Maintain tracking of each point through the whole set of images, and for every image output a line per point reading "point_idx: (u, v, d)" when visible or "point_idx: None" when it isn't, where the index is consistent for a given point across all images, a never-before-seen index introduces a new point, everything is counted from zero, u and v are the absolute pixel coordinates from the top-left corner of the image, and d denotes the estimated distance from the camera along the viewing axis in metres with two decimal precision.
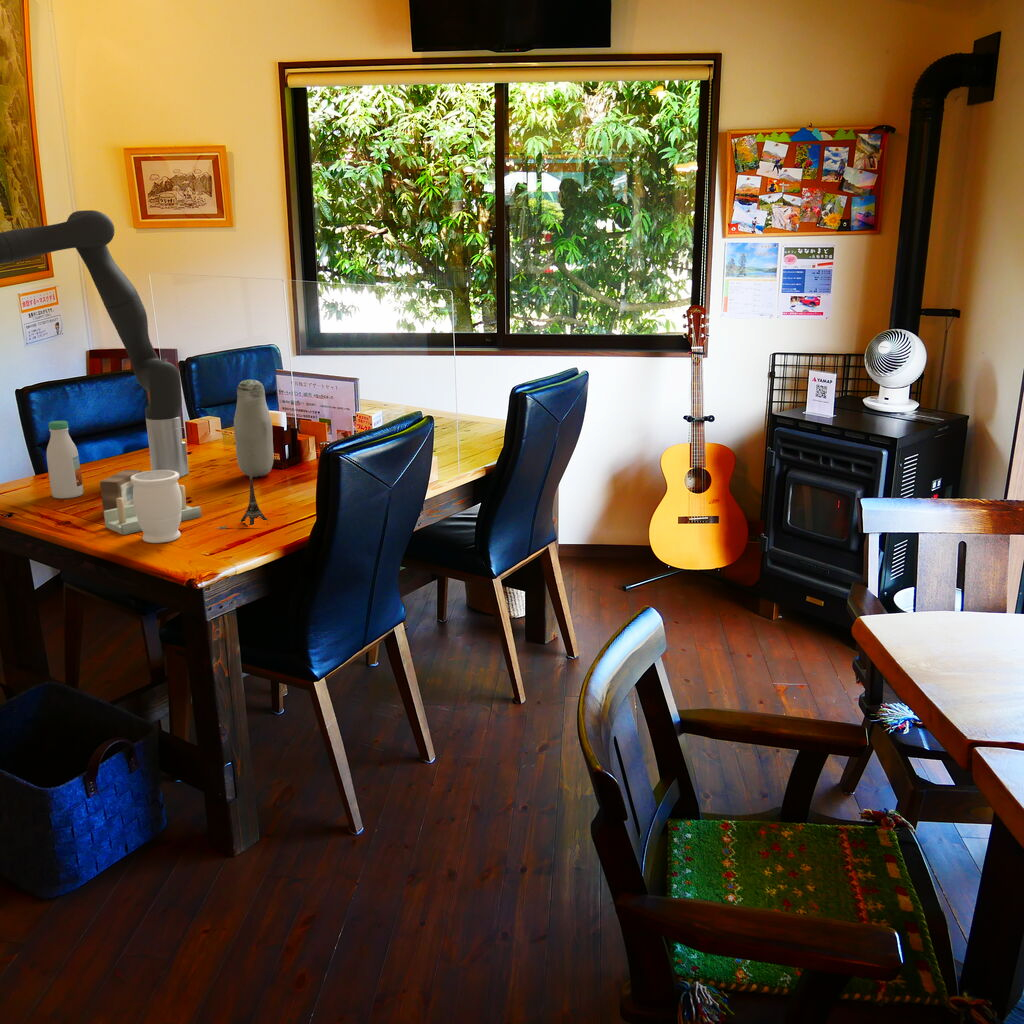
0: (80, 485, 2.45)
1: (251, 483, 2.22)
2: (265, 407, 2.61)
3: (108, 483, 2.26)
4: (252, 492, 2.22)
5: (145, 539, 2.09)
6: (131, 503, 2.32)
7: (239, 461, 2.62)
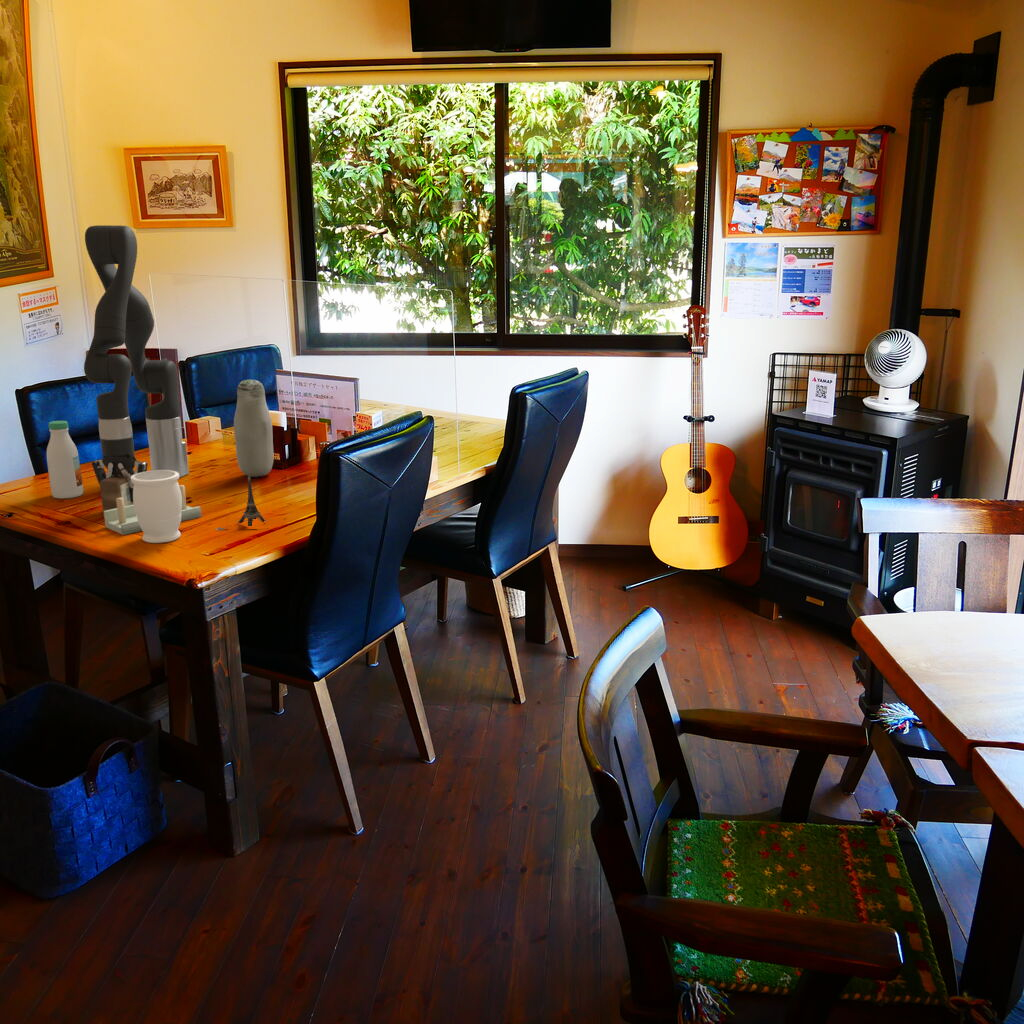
0: (80, 485, 2.45)
1: (249, 484, 2.21)
2: (265, 407, 2.61)
3: (108, 483, 2.26)
4: (250, 493, 2.21)
5: (145, 539, 2.09)
6: (131, 503, 2.32)
7: (239, 461, 2.62)
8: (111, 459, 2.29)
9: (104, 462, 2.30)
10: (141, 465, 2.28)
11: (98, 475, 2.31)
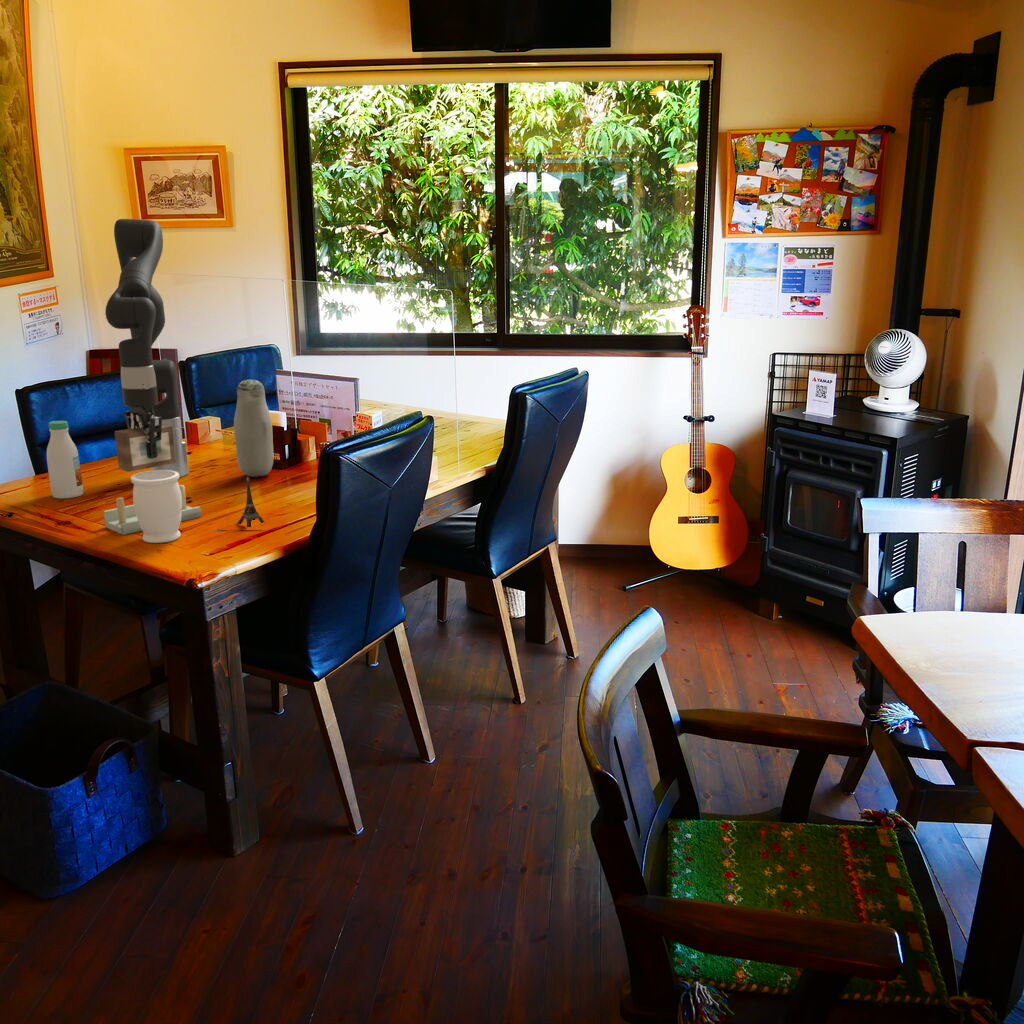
0: (80, 485, 2.45)
1: (248, 485, 2.20)
2: (265, 407, 2.61)
3: (119, 434, 2.14)
4: (249, 494, 2.20)
5: (145, 539, 2.09)
6: (148, 459, 2.18)
7: (239, 461, 2.62)
8: (134, 410, 2.16)
9: (131, 412, 2.18)
10: (151, 420, 2.12)
11: (128, 425, 2.20)
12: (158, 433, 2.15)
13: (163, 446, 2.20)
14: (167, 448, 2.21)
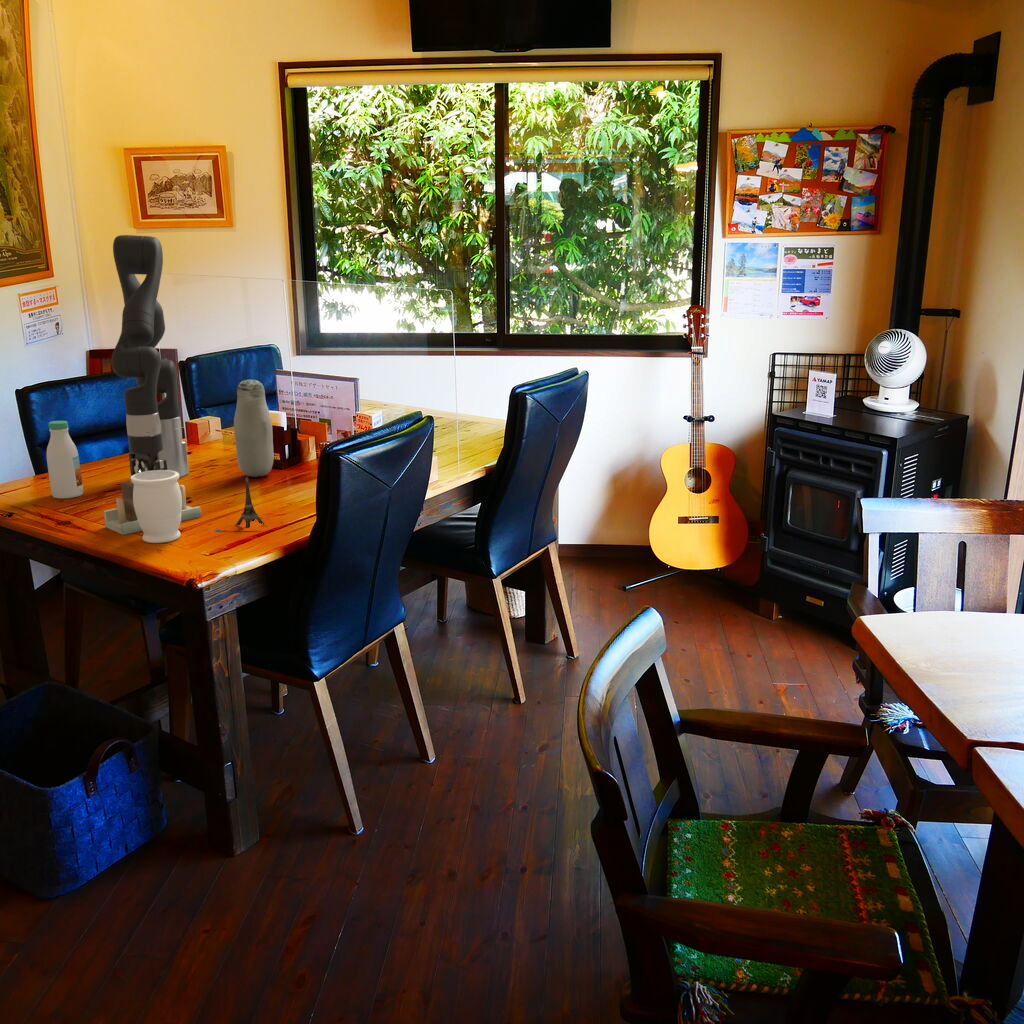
0: (80, 485, 2.45)
1: (247, 486, 2.19)
2: (265, 407, 2.61)
3: (125, 486, 2.17)
4: (248, 495, 2.20)
5: (145, 539, 2.09)
6: None
7: (239, 461, 2.62)
8: (139, 456, 2.20)
9: (136, 458, 2.21)
10: (155, 462, 2.15)
11: (131, 467, 2.24)
12: None
13: None
14: None
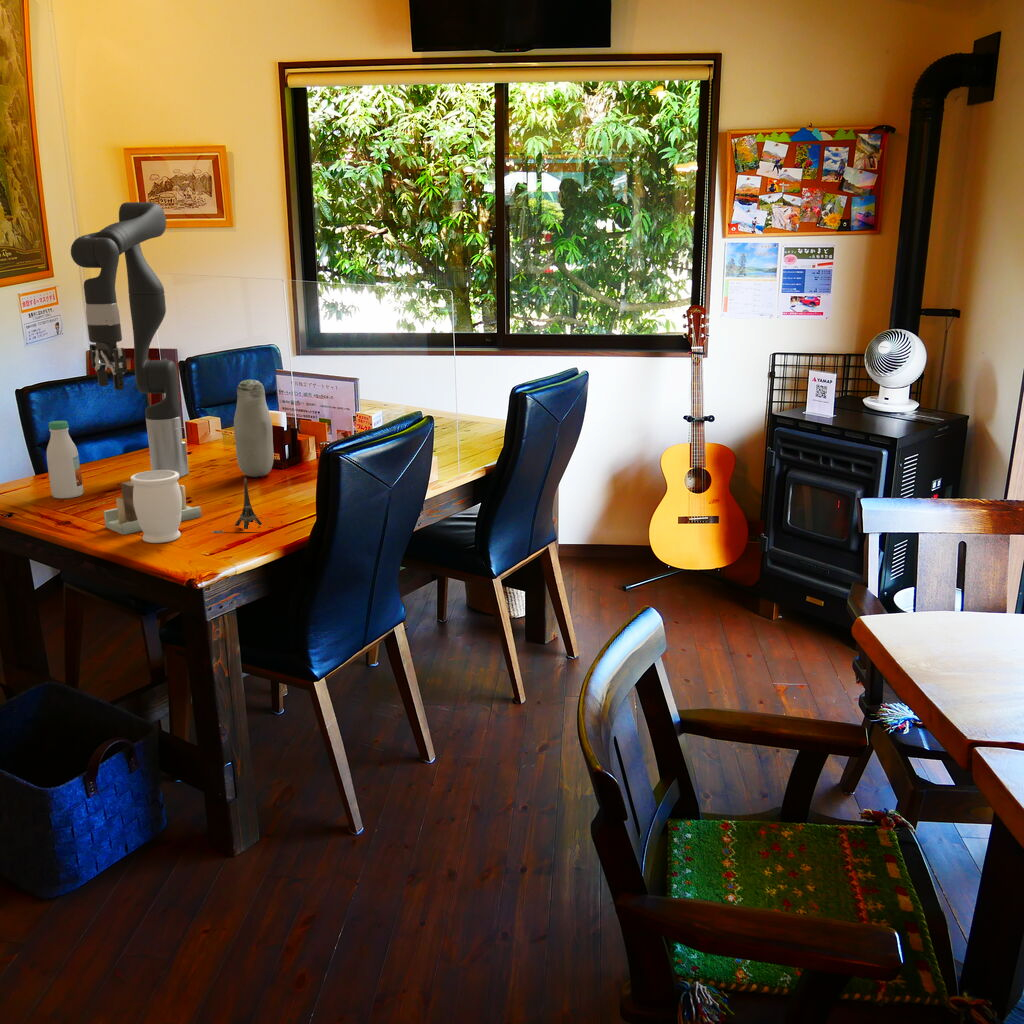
0: (80, 485, 2.45)
1: (245, 487, 2.19)
2: (265, 407, 2.61)
3: (125, 486, 2.17)
4: (247, 496, 2.19)
5: (145, 539, 2.09)
6: None
7: (239, 461, 2.62)
8: (99, 346, 2.28)
9: (96, 349, 2.30)
10: (114, 350, 2.23)
11: (92, 358, 2.32)
12: (123, 365, 2.26)
13: None
14: None
